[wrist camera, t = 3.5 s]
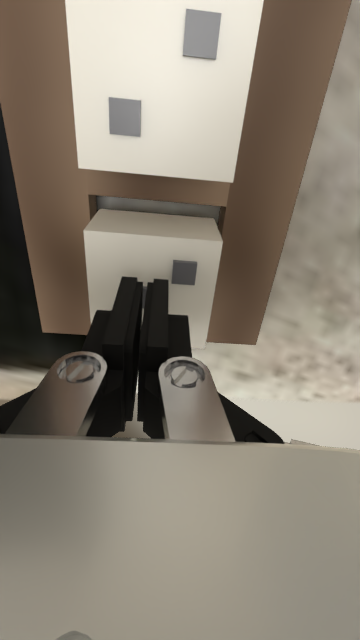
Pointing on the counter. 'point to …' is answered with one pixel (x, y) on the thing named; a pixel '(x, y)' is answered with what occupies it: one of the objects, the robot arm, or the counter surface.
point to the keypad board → (234, 198)
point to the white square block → (155, 261)
